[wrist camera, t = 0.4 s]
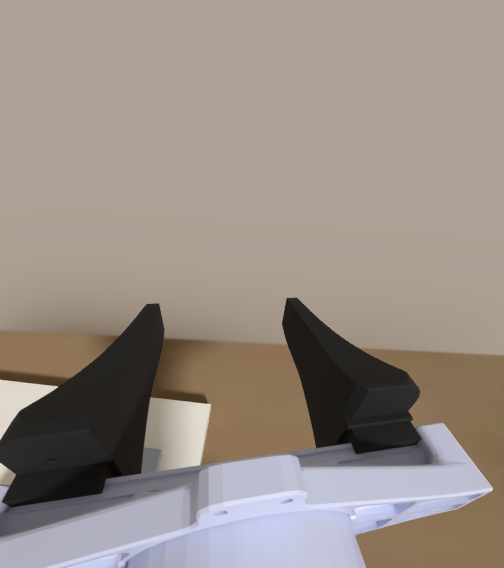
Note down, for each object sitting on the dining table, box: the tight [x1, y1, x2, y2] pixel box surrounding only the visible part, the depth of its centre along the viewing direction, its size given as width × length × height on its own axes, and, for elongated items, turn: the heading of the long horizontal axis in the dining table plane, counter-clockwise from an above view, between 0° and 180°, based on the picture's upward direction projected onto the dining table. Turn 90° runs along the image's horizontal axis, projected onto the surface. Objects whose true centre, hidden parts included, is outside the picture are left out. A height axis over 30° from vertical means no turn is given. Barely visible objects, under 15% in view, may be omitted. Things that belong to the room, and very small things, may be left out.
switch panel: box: [0, 380, 211, 485], centre depth 20 cm, size 18×26×3 cm
